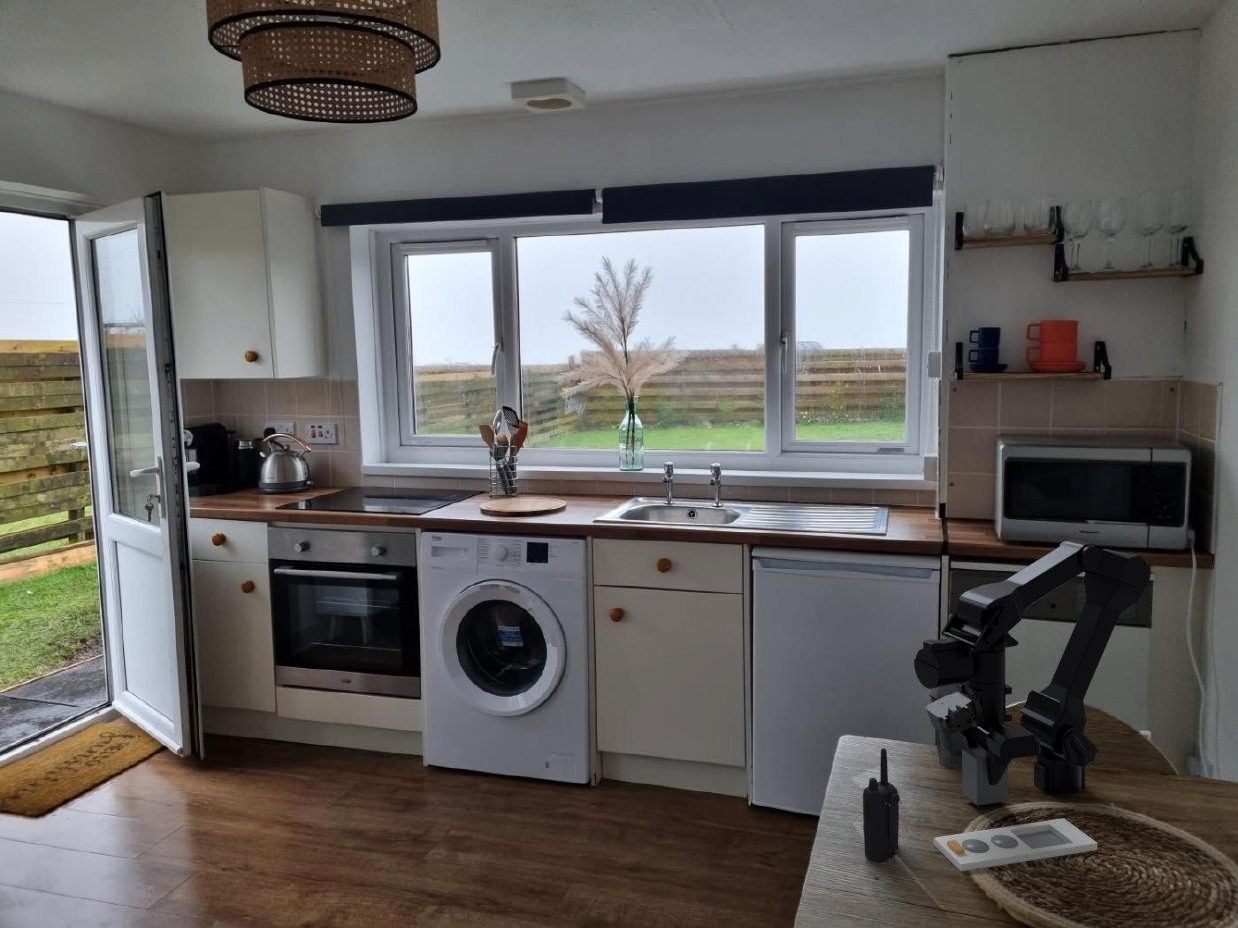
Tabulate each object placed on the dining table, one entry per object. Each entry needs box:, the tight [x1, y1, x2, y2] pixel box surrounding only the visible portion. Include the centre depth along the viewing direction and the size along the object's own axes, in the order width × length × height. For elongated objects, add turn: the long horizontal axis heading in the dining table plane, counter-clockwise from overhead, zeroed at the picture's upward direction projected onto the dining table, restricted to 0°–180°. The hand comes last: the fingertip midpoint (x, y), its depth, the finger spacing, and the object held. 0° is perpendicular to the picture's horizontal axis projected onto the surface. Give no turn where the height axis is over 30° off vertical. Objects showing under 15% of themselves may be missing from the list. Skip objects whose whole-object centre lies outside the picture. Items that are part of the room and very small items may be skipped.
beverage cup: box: [929, 684, 966, 769], centre depth 155 cm, size 7×7×20 cm
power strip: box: [933, 817, 1098, 872], centre depth 127 cm, size 20×7×3 cm, turn 100°
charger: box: [961, 747, 1009, 806], centre depth 139 cm, size 5×4×7 cm
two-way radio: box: [862, 747, 901, 862], centre depth 128 cm, size 6×4×15 cm
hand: (985, 778), depth 139 cm, fingers closed on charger, 4 cm apart
